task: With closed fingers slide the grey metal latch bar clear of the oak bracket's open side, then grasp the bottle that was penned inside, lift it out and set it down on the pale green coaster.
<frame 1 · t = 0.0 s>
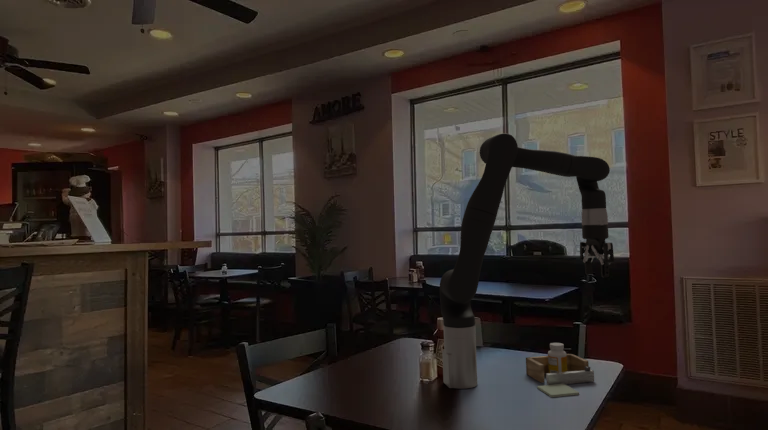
hand: (597, 276, 159), 29 cm above the table, fingers open, 8 cm apart
supplement bottle: (558, 377, 155), on the table
bracket: (558, 376, 155), on the table
coaster: (557, 391, 141), on the table
latch: (570, 375, 148), point 2 cm above the table, slide at 0.0 cm
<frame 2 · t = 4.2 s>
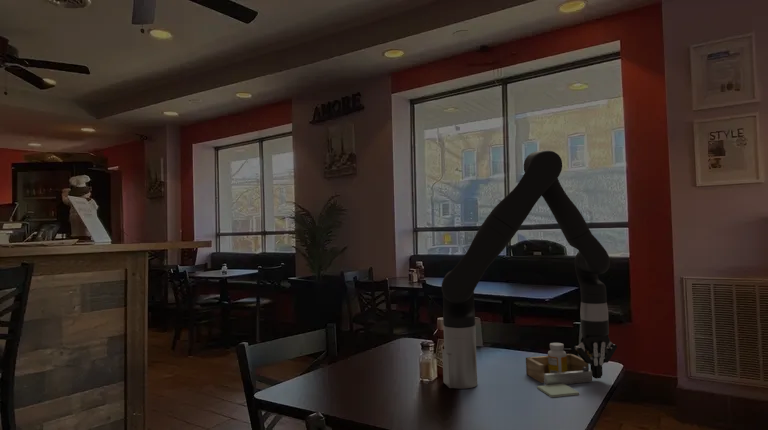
hand: (596, 377, 150), 1 cm above the table, fingers closed
latch: (568, 375, 148), point 2 cm above the table, slide at 0.6 cm, touching gripper
everything else where it was.
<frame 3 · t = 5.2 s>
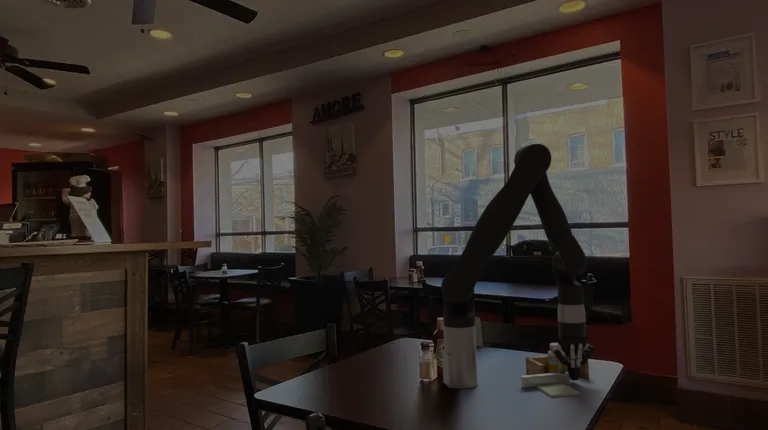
hand: (574, 379, 148), 1 cm above the table, fingers closed
latch: (545, 378, 147), point 2 cm above the table, slide at 7.8 cm, touching gripper
everything else where it was.
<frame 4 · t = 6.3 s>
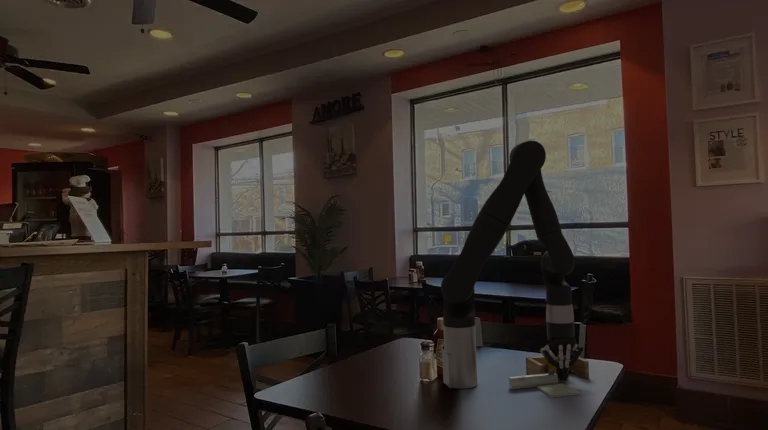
hand: (562, 380, 148), 1 cm above the table, fingers closed
latch: (533, 379, 146), point 2 cm above the table, slide at 11.3 cm, touching gripper
everything else where it was.
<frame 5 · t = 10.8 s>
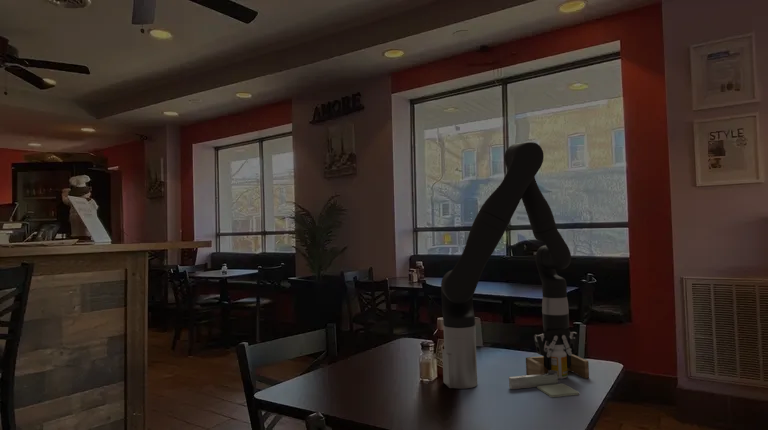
hand: (557, 368, 155), 3 cm above the table, fingers closed on supplement bottle, 5 cm apart
supplement bottle: (558, 377, 155), on the table, touching gripper
latch: (533, 379, 146), point 2 cm above the table, slide at 11.3 cm
when the fingers open (5 cm above the table, at t = 15.8 s): supplement bottle drops 1 cm, resting on coaster.
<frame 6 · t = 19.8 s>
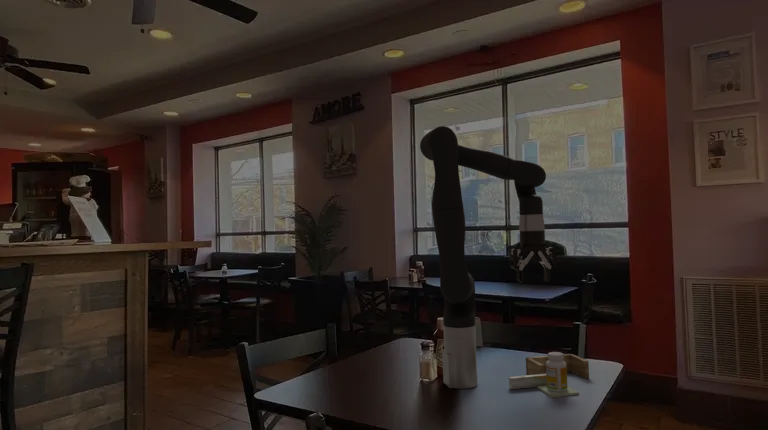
hand: (534, 281, 160), 28 cm above the table, fingers open, 8 cm apart
supplement bottle: (557, 389, 141), resting on coaster
everything else where it was.
at the end: latch slide at 11.3 cm; supplement bottle 0.2 cm from the coaster (horizontally); supplement bottle tilted 0° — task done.
